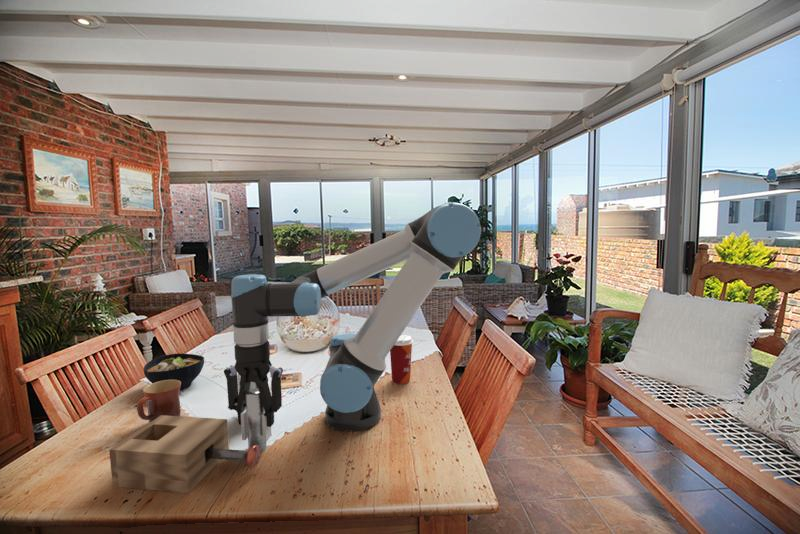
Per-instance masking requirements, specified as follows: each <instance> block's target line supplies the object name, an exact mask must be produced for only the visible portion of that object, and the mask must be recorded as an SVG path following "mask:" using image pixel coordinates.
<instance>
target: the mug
mask: <svg viewBox="0 0 800 534" xmlns="http://www.w3.org/2000/svg"><path fill="white" fill-rule="evenodd" d="M180 387H181V381H179V380H163V381H158V382H155V383H150V384H148V385H146V386H144V388H143V389H142V392H143V395H144V397H142V398H140V399H139V400H138V402H137V404H136V412H137V415H138V417H139V418H140V419H141V420H144V421H148V424H149V423H150V422H152V421H153V420H155V419H156V418H158V417H159V416H161V415H166V416H181V403H180ZM146 402H147V415H146V413H145V410H144V404H145V403H146Z"/></svg>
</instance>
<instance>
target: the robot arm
mask: <svg viewBox="0 0 800 534" xmlns="http://www.w3.org/2000/svg"><path fill="white" fill-rule="evenodd" d="M481 234H482V227H481V222H480V219H479V217H478V215H477V214H476V212H475V211H474V210H472V208H471V207H469V206H467V205H465V204H463V203H460V202H454V201H450V202H444V203H442V204H439V206H435V207H433V208H432V209H430V210H429V211H428V212H426V213H424V214H423V215H422V216H420V217H418V218H417V219H414V220H412V221H410V222H408V223H407V224H405V228H404V229H403V230H400V231H398V232H396V233H394V234H392V235H389V236H387V237H385V238H383V239H380V240H378V241H376V242H374V243H372V244H370V245H367V246H365V247H363V248H361V249H358V250H356V251H354V252H351V253H349V254H347V255H345V256H343V257H340V258H339V259H336V260H334V261H332V262H330V263H327V264H326V265H323V266H321V267H319V268H317V269H315V270H312V271H310V272H308V273H304V274H301V275H300V276H297V277H296V278H295V279H294V280H293V281H291V282H288V283H271V282H270V283H268V280H267V277H266V276H265V275H264V274H257V273H254V274H252V273H251V274H241V275H237V276H234V277H233V278H232V280H231V284H230V285H231V295H230V299H231V310H232V320H233V321H232V327H233V328H232V329H233V331H232V332H233V343H235V345H234V359H235V363H234V365H230V366H228V367H226V368H225V369H224V370H223V373H224V376H225V379H226V388H227V403H228V409H229V410H231V411H236V414H237V425H239V426H240V427H241V429H240V430H241V440H242V441H246V440H248V433H247V414H246V409H245V408H246V396H245V393H246V392H247V391H248V390H249V389H250V383H251V382H255V383H256V387H258V389H259V393H260V396H261V400H262V404H263V407H264V411H265V412H264V413H263V414H262V428H263V442H266V443H267V441H268V440H269V439H270V438H271V437H272V426H273V425H274V423H275V413H277V412H278V411H279V409H281V408H282V405H283V404H282V375H283V371H284V369H283V368H282V367H278V368H277V367H275V366H273V365H272V362H271V360H270V357H271V351H270V346H271V345H270V341H268V340H269V339H270V332H269V331H270V330H269V317H270V318H271V317H302V318H305V317H310V316H311V317H312V316H317V315H319V314H320V312H321V307H322V299H324V298H326V297H328V296H330V295H332V294H334V293H337V292H339V291H341V290H343V289H345V288H348V287H351V286H352V285H355V284H356V283H359V282H361V281H363V280H366V279H368V278H370V277H372V276H374V275H376V274H379V273H381V272H383V271H385V270H387V269H390V268H393V267H394V266H397V265H399V264H402V263H404V262H405V263H404V264H403V265H402V267H401V268H400V270H399V271H398V273H397V274H396V276H395V277H394V278H393V280H392V281H391V283H390V285H389V286H388V287H387V289H386V290H385V292H384V293H383V295H382V296H381V298H380V299H379V301H378V302H377V304H376V305H375V307H374V308H373V310H372V311H371V313H370V314H369V315H368V317H367V318H366V320H365V322H364V323H363V324H362V326H361V328H359V330H358V332H357V333H344V334H342V333H341V334H337V335H336V334H335V335H334V336H332V337H331V338H330V339H329V345H328V348H329V358H328V361H327V363H326V365H325V368H324V371H323V373H322V374H321V377H320V381H319V391H320V395H321V399H322V400H323V401H324V403H325V404H326V407H325V411H324V413H325V414H324V417H325V418H324V419H325V423H326V424H327V426H329V427H330V428H331V429H334V430H336V431H343V432H355V431H362V430H366V429H369V428H371V427H373V426H374V425H376V424H378V422H379V421H380V419H381V417H382V412H381V411H382V408H381V404H380V401H379V399H378V396H377V394H376V391H375V385H376V384H377V382H378V381H379V379H380V378H381V376H382V375H383V373H384V372H385V370H386V369H387V363H386V357H387V356H388V355H389V354H390V350H391V349H392V347H393V346H394V344H395V343H396V341H397V340H398V338H399V337H400V335H403V332H404V331H405V330H406V329H407V327H408V325H409V324H410V322H411V321H412V319H413V318H414V316H415V315H416V314H417V312H418V311H419V309H420V308H421V306H422V305H423V304H424V302H425V300H426V299H427V297H428V296H429V295H430V293H431V292H432V290H433V289H434V287H435V286H436V284H438V282H439V280H440V279H441V277H442V276H443V275H444V274H447V273H450V272H454V270H455V268H456V267H457V266H458V265H459V263H460V262H461V260H462V259H463V258H464V257H465V256H466V255H468V254H469V253H471V252H472V251H473V250H474V249H475V247H476V246H477V245H478V243H479V242H480V239H481ZM269 373H270V374H269ZM238 374H239V375H240V376H241V379H240V391H238ZM268 374H269V375H270V378H271V381H270V383H271V384H270V386H271V388H270V386H269V383H268V382H269V378H268ZM270 389H271V390H270Z"/></svg>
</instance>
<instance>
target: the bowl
mask: <svg viewBox="0 0 800 534" xmlns="http://www.w3.org/2000/svg"><path fill="white" fill-rule="evenodd" d="M204 363H205V357H204V356H202V355H199V354H193V353H192V354H191V353H172V354H170V353H169V354H164V355H161V356H158V357H156V358H154V359H151V360H149V361H148V362H147V363H145V365H144V367H143V375H144V377H146V379H147V381H149V383H150V384H152V383H155V382H158V381H163V380H179V381H181V387H180V391H183V390H187V389H188V388H190V387H191V386H192V383H193V381H194V380H195V379H197V377H198V376H199V375H200V373H201V371H202V370H203V367H204V365H205V364H204ZM180 391H179V392H180Z"/></svg>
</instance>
